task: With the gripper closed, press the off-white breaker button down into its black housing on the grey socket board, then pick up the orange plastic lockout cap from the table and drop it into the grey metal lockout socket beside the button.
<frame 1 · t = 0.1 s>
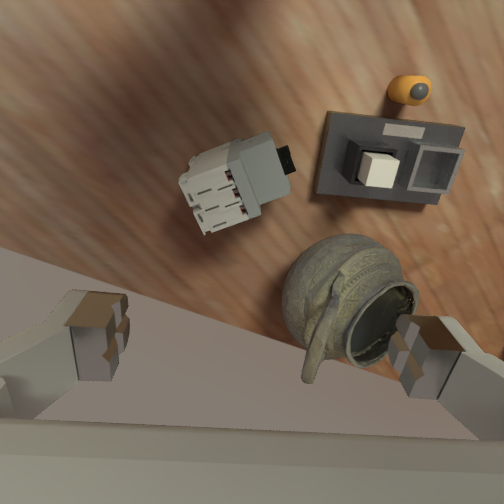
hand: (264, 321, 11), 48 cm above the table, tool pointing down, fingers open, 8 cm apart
circuit breaker: (242, 162, 56), on the table
breaker button: (376, 168, 48), point 9 cm above the table, slide at 0.0 cm
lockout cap: (399, 89, 52), on the table
grey socket board: (381, 157, 56), on the table
pot: (330, 266, 65), on the table
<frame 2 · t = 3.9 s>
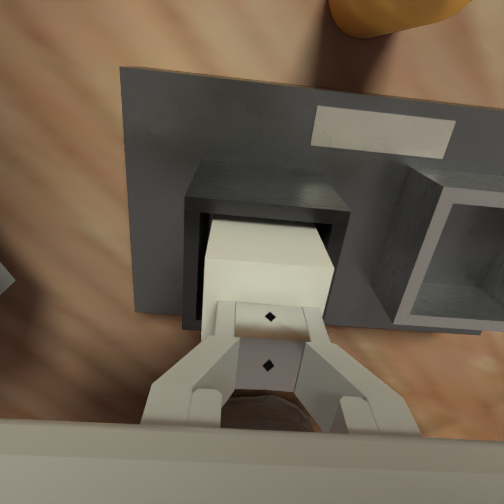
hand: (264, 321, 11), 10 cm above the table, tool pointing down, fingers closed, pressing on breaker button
breaker button: (259, 272, 13), point 8 cm above the table, slide at 1.2 cm, touching gripper
grey socket board: (323, 206, 20), on the table
pot: (227, 433, 29), on the table
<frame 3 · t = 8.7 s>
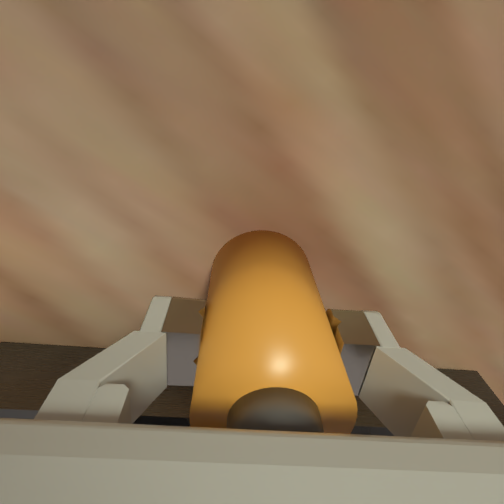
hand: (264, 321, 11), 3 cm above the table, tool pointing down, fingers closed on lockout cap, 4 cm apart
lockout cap: (260, 275, 13), on the table, touching gripper
grey socket board: (237, 447, 17), on the table
when the fingers open (7 cm above the table, at t = 15.2 s): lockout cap drops 1 cm, resting on grey socket board.
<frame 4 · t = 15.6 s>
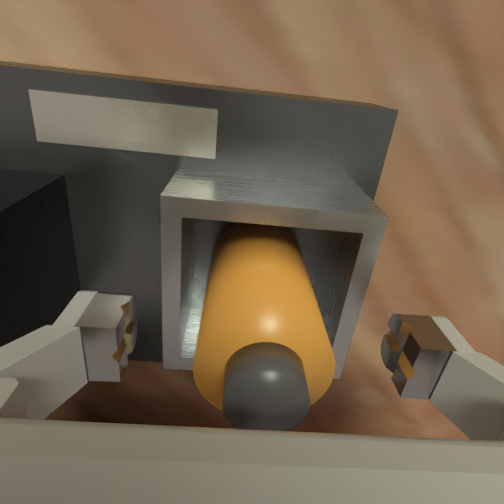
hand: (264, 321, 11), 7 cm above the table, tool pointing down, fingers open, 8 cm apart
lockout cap: (256, 259, 14), point 3 cm above the table, touching grey socket board
grey socket board: (129, 217, 16), on the table
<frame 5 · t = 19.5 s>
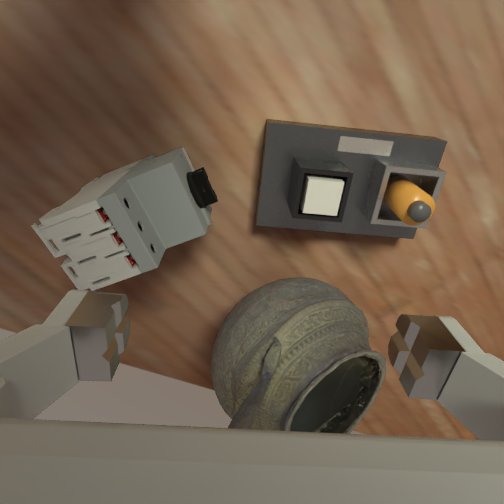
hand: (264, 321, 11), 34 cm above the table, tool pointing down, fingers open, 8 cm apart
circuit breaker: (162, 184, 43), on the table
breaker button: (318, 190, 38), point 6 cm above the table, slide at 2.9 cm
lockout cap: (395, 190, 41), point 3 cm above the table, touching grey socket board
grey socket board: (340, 178, 43), on the table
pot: (284, 309, 53), on the table
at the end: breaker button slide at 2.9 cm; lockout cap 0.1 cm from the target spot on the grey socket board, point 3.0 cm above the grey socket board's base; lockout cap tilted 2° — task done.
